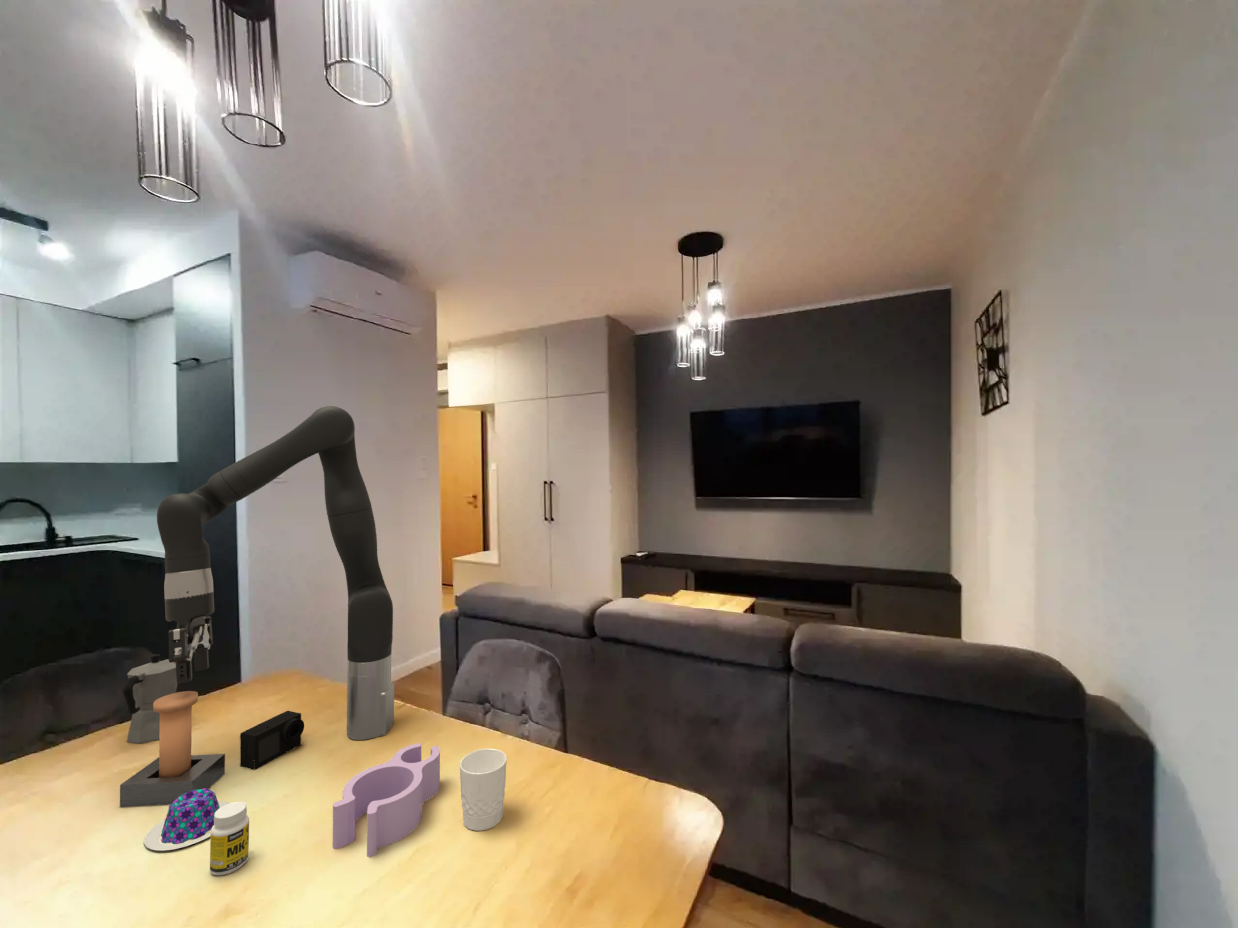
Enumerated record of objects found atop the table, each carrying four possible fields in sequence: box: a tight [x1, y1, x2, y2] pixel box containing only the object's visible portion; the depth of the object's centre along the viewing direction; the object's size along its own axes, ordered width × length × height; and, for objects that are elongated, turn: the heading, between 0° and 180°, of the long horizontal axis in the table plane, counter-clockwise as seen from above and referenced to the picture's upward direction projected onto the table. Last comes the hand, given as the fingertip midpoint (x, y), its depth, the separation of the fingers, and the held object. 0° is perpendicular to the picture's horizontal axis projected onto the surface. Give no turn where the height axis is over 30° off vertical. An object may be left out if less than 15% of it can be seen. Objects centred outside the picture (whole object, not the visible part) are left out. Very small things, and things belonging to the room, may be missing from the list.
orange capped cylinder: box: [153, 690, 199, 778], centre depth 97 cm, size 6×6×17 cm
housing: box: [119, 753, 226, 808], centre depth 97 cm, size 12×9×4 cm
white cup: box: [459, 747, 508, 832], centre depth 90 cm, size 8×8×10 cm
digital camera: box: [239, 710, 305, 771], centre depth 109 cm, size 10×5×7 cm, turn 161°
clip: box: [332, 742, 441, 858], centre depth 91 cm, size 20×12×7 cm, turn 165°
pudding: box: [143, 788, 230, 851], centre depth 87 cm, size 12×12×5 cm
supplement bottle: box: [209, 801, 250, 876], centre depth 79 cm, size 5×5×8 cm
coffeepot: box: [122, 653, 178, 745], centre depth 117 cm, size 15×9×18 cm, turn 9°
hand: (193, 675), depth 102 cm, fingers open, 8 cm apart
